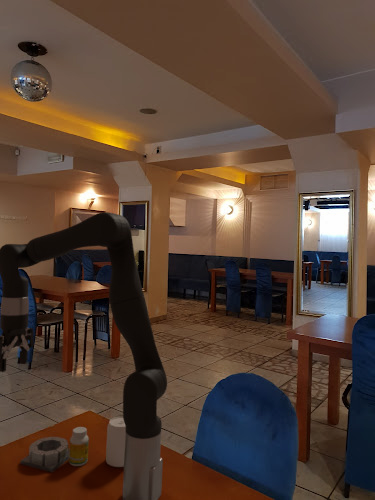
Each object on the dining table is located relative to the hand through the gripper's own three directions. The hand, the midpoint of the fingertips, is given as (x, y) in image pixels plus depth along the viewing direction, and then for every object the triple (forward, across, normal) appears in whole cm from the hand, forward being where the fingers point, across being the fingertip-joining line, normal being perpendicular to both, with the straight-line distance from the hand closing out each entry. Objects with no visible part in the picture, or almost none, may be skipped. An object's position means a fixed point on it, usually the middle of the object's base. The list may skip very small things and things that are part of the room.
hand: (13, 367), depth 116 cm
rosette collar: (+28, +6, -9) cm, 30 cm away
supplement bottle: (+28, +7, -18) cm, 34 cm away
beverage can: (+28, +12, -29) cm, 43 cm away
